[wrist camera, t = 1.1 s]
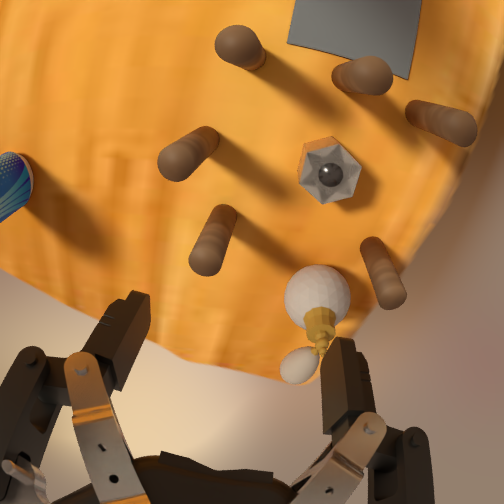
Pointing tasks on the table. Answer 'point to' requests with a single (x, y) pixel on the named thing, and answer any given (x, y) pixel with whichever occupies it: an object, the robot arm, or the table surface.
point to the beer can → (14, 183)
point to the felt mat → (359, 29)
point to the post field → (344, 78)
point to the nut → (328, 170)
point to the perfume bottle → (313, 316)
